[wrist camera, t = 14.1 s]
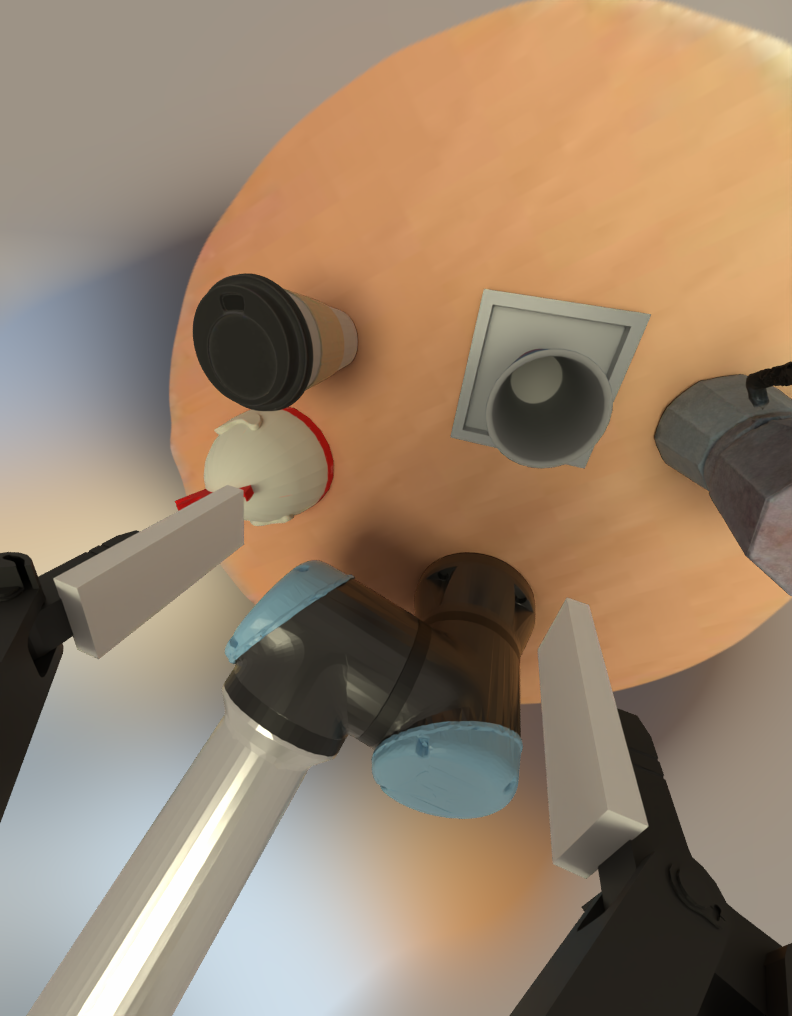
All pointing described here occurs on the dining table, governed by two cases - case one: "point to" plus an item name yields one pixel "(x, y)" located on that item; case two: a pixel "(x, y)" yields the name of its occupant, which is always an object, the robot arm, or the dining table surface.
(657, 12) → the dining table surface
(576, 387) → the cup
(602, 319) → the tray
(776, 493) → the moka pot
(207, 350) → the coffee cup
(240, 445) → the kitchen timer
